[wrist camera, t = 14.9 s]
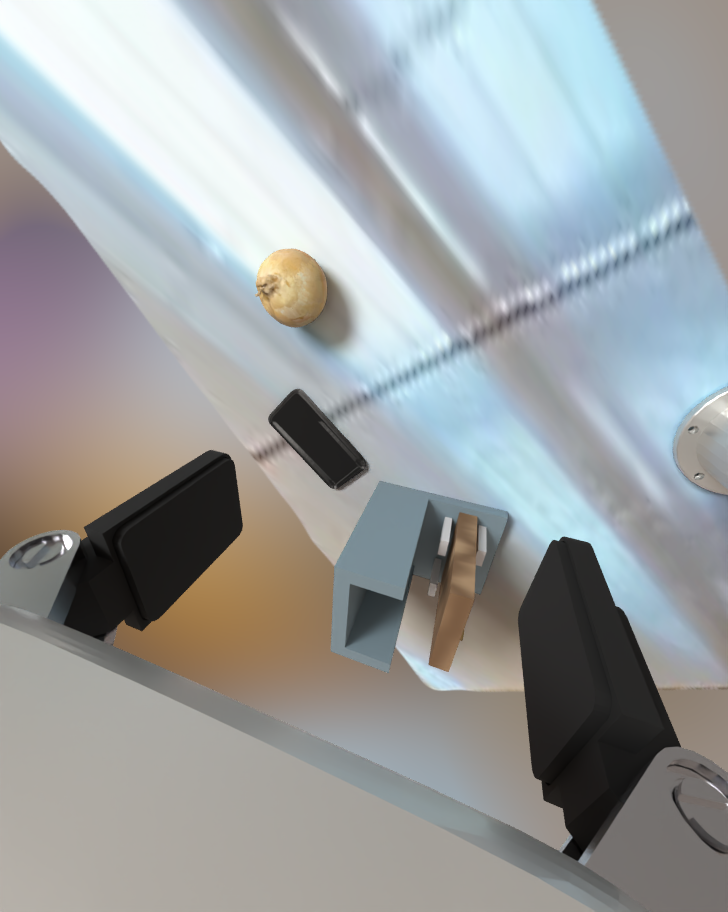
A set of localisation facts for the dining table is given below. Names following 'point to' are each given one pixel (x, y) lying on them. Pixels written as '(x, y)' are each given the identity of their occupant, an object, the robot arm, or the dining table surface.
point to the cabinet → (399, 565)
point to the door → (455, 593)
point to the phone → (316, 439)
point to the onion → (292, 287)
